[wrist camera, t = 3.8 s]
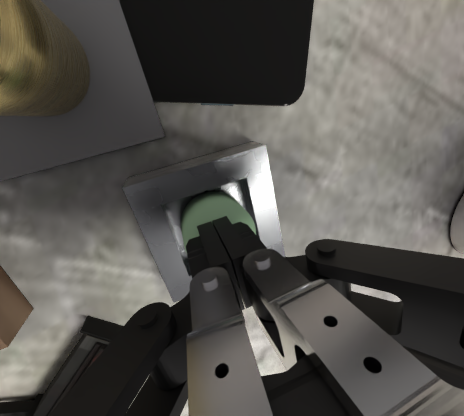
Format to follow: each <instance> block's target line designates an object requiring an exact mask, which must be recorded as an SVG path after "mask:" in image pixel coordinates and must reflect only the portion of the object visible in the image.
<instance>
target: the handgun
mask: <svg viewBox="0 0 464 416" xmlns="http://www.w3.org/2000/svg"><path fill="white" fill-rule="evenodd" d="M122 328H123V326H120V325H117V324H114V323H111V322H108V321H105V320H101V319H98V318H94V317H91V316H87V318H86V320H85V323H84V325H83V327H82V329H81V331H80V332H81V333H84V334H83V336H82V337H81V339H80V340H79V342H78V343H77V345H76V346H75V348H74V349H73V351H72V352H71V354H70V355H69V357H68V358H67V360H66V361H65V363H64V364H63V366H62V367H61V369H60V370H59V372H58V373H57V375H56V376H55V378H54V379H53V381H52V382H51V384H50V385H49V387H48V388H47V390H46V391H45V393H44V394H38V395H37V397H36V399H35V400H32V401H16V402H1V403H0V416H49V414H50V413H51V412H52V411H53V410H54V409H55V407H56V406H57V405H58V404H59V403H60V401H61V400H62V399H63V398H64V397H65V395H66V394H67V393H68V392H69V391H70V390H71V388H72V387H73V386H74V385H75V384H76V382H77V381H78V380H79V379H80V378H81V377H82V375H83V374H84V373H85V372H86V371H87V369H88V368H89V367H90V366H91V365H92V363H93V362H94V361H95V360H96V359H97V358H98V356H99V355H100V354H101V353H102V352H103V350H104V349H105V348H106V347H107V346H108V345H109V343H110V342H111V341H112V340H113V339H114V337H115V336H116V335H117V334H118V333H119V331H120V330H121V329H122Z"/></svg>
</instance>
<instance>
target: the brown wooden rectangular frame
mask: <svg viewBox="0 0 464 416" xmlns="http://www.w3.org/2000/svg"><path fill="white" fill-rule="evenodd" d="M32 310H33V307H32V306H31V305H30V304H29V302H28V301H27V300H26V298H25V297H24V296H23V295H22V293H21V292H20V291H19V289H18V288H17V287H16V286H15V284H14V283H13V282H12V280H11V279H10V278H9V277H8V275H7V274H6V273H5V272H4V270H3V269H2V268H1V266H0V350H1V349H4V348H6V347H8V346H9V344H10V343H11V341H12V340H13V339H14V337H15V336H16V334H17V333H18V331H19V330H20V328H21V327H22V325H23V324H24V322H25V321H26V319H27V318H28V316H29V315H30V313H31V312H32Z"/></svg>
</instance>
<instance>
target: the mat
mask: <svg viewBox="0 0 464 416" xmlns="http://www.w3.org/2000/svg"><path fill="white" fill-rule="evenodd" d="M41 1H42V2H43V3H44V4H45V5H46V6H47V7H48V8H49V9H50V10H51V11H52V12H53V13H54V14H55V15H56V16H57V17H58V18H59V19H60V20H61V21H62V22H63V23H64V24H65V25H66V26H67V27H68V28H69V29H70V30H71V31H72V32H73V33H74V35H75V36H76V37H77V39H78V40H79V42H80V43H81V45H82V47H83V49H84V51H85V53H86V56H87V59H88V63H89V67H90V83H89V88H88V91H87V94H86V95H85V97H84V99H83V100H82V102H81V103H80V104H79V105H78V106H77V107H76V108H74V109H73V110H71V111H69V112H67V113H65V114H61V115H57V116H0V182H1V181H4V180H8V179H12V178H15V177H19V176H23V175H26V174H30V173H34V172H37V171H41V170H45V169H48V168H52V167H56V166H59V165H63V164H66V163H70V162H74V161H77V160H81V159H85V158H88V157H92V156H96V155H99V154H103V153H107V152H110V151H114V150H118V149H121V148H125V147H129V146H132V145H136V144H140V143H143V142H147V141H151V140H154V139H158V138H162V137H165V134H164V131H163V129H162V126H161V123H160V120H159V117H158V114H157V111H156V108H155V105H154V102H153V99H152V96H151V93H150V90H149V87H148V85H147V82H146V79H145V76H144V73H143V70H142V67H141V64H140V61H139V58H138V55H137V52H136V49H135V46H134V43H133V40H132V37H131V35H130V32H129V29H128V26H127V23H126V20H125V17H124V14H123V11H122V8H121V5H120V2H119V0H41Z"/></svg>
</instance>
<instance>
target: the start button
mask: <svg viewBox="0 0 464 416" xmlns="http://www.w3.org/2000/svg"><path fill="white" fill-rule="evenodd" d="M224 216H227V217H228V219H229V220H230V222H231V223H232V224H234V223H237V222H242V223H245V224H247V225H248V226H249V227H250V228H251V229H252V231H253V232H254V233H255V235H256V228H255V224H254V221H253V219H252V217H251V216H250V214H249V213H248V212H247V211H246V210H245V209H244V208H243V207H242V206H241V205H240V204H239V202H238V201H237V200H236V199H235V198H233V197H232V196H231V195H229V194H226V193H223V192H218V191H212V192H206V193H203V194H200V195H198V196H197V197H195V198H194V199H192V200H191V201H190V202H189V203H188V205H187V206H186V207H185V209H184V211H183V213H182V216H181V231H182V237H183V243H184V248H185V251H186V245H187V243H188V240H189V239H192V238H195V237H198V236H200V235H199V232H198V229H197V226H198V225H201V224H204V223H207V222H210V221H211V222H212V221H213V220H216V219H219V218H221V217H224ZM212 224H213V223H212ZM186 253H187V251H186Z"/></svg>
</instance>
